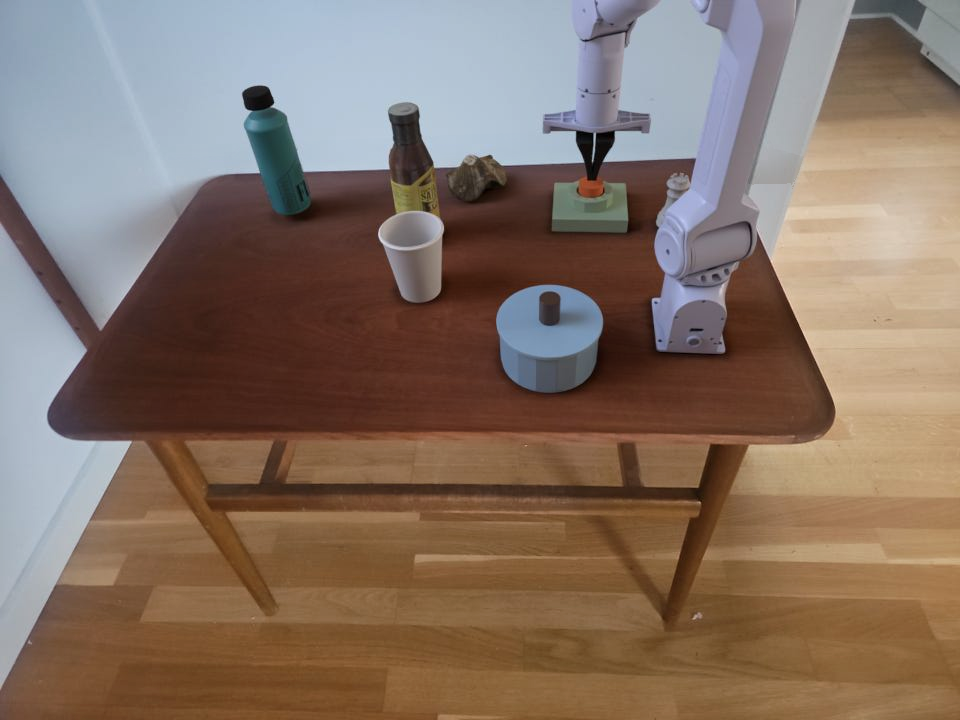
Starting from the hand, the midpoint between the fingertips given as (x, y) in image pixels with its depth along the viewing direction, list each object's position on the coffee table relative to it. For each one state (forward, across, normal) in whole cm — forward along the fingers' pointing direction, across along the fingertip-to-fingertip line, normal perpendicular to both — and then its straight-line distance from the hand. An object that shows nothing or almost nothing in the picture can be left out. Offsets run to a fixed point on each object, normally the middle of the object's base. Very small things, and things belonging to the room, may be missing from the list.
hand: (591, 177), depth 95 cm
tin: (+6, +5, +31) cm, 32 cm away
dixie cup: (+6, +23, +19) cm, 30 cm away
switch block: (+6, 0, 0) cm, 6 cm away
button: (+3, 0, 0) cm, 3 cm away
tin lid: (0, +5, +31) cm, 31 cm away
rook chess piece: (+6, -12, +3) cm, 14 cm away
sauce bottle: (+6, +25, +7) cm, 27 cm away
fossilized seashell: (+6, +18, -6) cm, 20 cm away
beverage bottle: (+6, +47, +1) cm, 47 cm away
